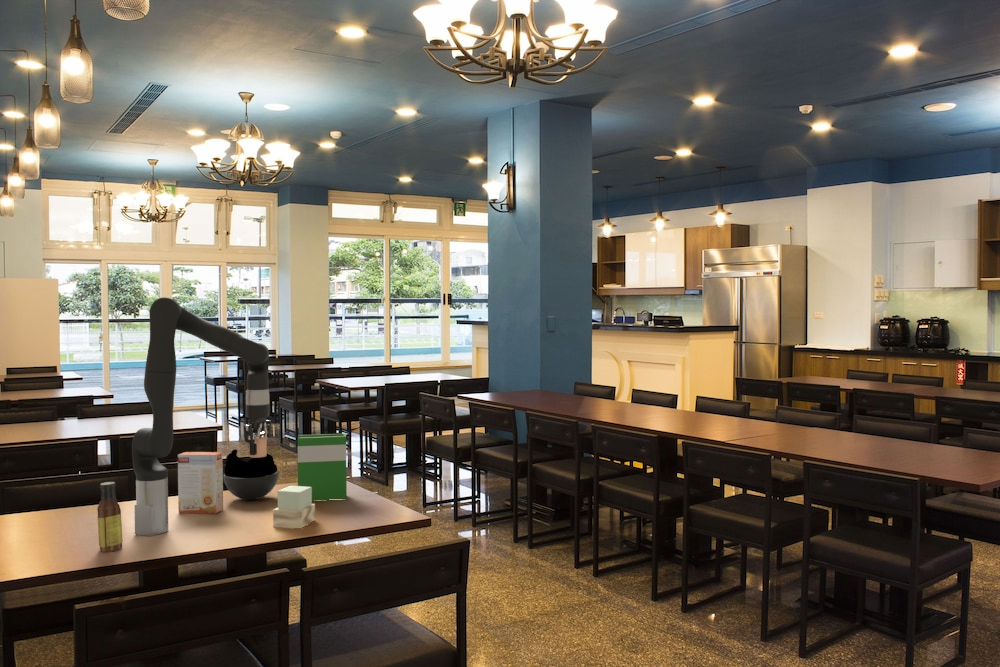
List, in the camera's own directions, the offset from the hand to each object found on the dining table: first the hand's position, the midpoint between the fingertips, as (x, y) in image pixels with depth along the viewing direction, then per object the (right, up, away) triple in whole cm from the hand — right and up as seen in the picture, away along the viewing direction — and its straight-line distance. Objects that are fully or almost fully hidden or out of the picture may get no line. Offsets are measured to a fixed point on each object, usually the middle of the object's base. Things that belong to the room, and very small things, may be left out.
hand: (257, 453), depth 255 cm
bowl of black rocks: (-13, -23, +32) cm, 41 cm away
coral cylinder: (0, -1, 0) cm, 1 cm away
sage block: (+13, -18, -2) cm, 22 cm away
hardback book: (+14, -23, +32) cm, 42 cm away
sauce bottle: (-34, -24, -30) cm, 51 cm away
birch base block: (+13, -24, -2) cm, 27 cm away
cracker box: (-25, -23, +14) cm, 37 cm away
